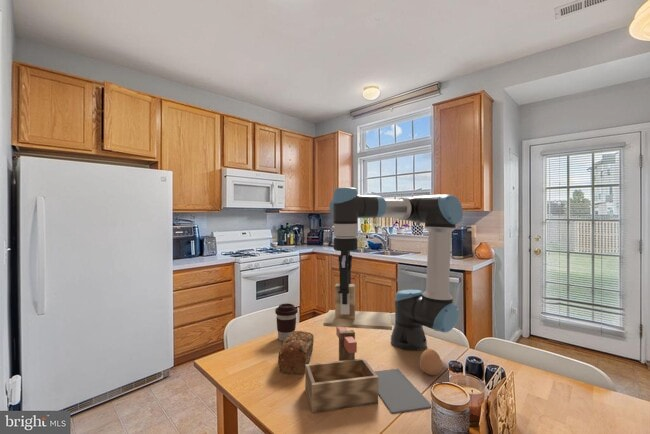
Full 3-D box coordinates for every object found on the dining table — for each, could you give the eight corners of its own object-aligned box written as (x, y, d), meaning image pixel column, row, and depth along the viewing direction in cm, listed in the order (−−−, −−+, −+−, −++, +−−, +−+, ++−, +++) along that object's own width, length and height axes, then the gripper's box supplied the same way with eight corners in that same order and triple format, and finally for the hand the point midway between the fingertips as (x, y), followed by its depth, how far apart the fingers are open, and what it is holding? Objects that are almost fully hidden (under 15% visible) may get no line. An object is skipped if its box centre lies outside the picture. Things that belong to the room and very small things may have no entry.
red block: (343, 334, 118) (343, 325, 118) (356, 352, 103) (356, 342, 103) (336, 334, 118) (336, 325, 118) (348, 353, 102) (348, 342, 102)
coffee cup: (301, 337, 138) (301, 304, 138) (287, 345, 130) (288, 310, 130) (284, 332, 144) (285, 301, 143) (270, 339, 135) (270, 306, 135)
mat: (398, 369, 110) (398, 368, 110) (432, 407, 88) (432, 406, 88) (364, 373, 107) (364, 372, 107) (391, 413, 86) (391, 412, 86)
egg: (425, 366, 113) (426, 343, 112) (445, 374, 107) (445, 350, 107) (415, 373, 107) (416, 349, 107) (435, 381, 102) (436, 356, 102)
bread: (306, 376, 105) (306, 348, 105) (276, 374, 106) (276, 346, 106) (314, 352, 124) (314, 328, 124) (289, 350, 125) (289, 326, 125)
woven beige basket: (354, 367, 111) (355, 329, 111) (378, 403, 90) (378, 357, 90) (300, 373, 106) (301, 334, 106) (312, 413, 85) (312, 363, 85)
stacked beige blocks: (390, 315, 99) (389, 282, 98) (391, 330, 87) (391, 291, 87) (329, 312, 102) (329, 280, 102) (323, 326, 90) (323, 289, 90)
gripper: (337, 235, 103) (337, 303, 104) (329, 239, 87) (329, 320, 87) (359, 235, 102) (359, 304, 102) (355, 239, 86) (355, 321, 86)
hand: (345, 311), depth 95 cm, fingers closed on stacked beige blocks, 3 cm apart
